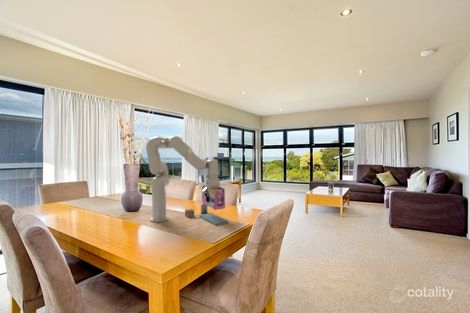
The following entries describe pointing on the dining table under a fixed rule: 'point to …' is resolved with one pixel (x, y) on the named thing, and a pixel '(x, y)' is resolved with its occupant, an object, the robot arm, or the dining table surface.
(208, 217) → the board
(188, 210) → the walnut block
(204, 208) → the metal canister
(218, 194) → the gum box
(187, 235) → the dining table surface
